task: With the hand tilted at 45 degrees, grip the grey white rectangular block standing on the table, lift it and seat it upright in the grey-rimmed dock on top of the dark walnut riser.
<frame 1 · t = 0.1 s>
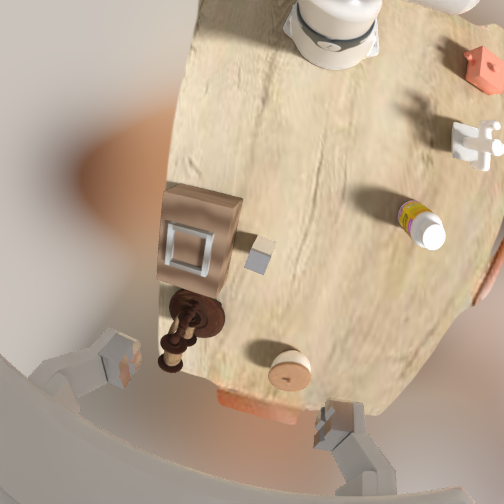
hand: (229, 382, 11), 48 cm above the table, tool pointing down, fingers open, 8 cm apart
grey white rectangular block: (263, 246, 60), on the table
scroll: (199, 309, 71), on the table
walnut riser: (203, 233, 62), on the table
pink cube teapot: (474, 72, 35), on the table
figurine: (459, 141, 42), on the table
supplement bottle: (411, 215, 51), on the table
lidded jar: (292, 357, 72), on the table
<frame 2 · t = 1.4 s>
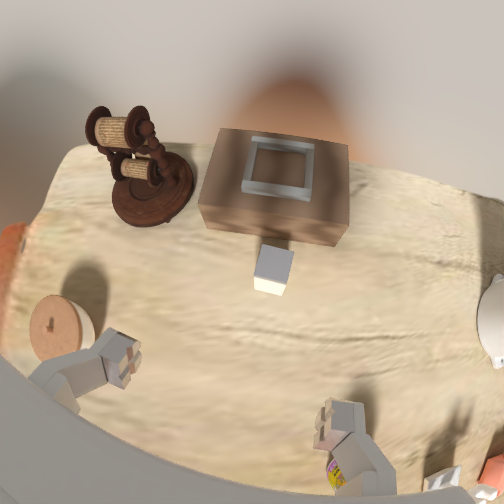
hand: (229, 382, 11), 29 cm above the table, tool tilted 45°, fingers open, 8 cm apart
grey white rectangular block: (271, 279, 41), on the table
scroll: (155, 193, 47), on the table
walnut riser: (276, 198, 46), on the table
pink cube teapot: (490, 465, 26), on the table
figurine: (432, 482, 28), on the table
supplement bottle: (345, 467, 31), on the table
lidded jar: (80, 336, 39), on the table
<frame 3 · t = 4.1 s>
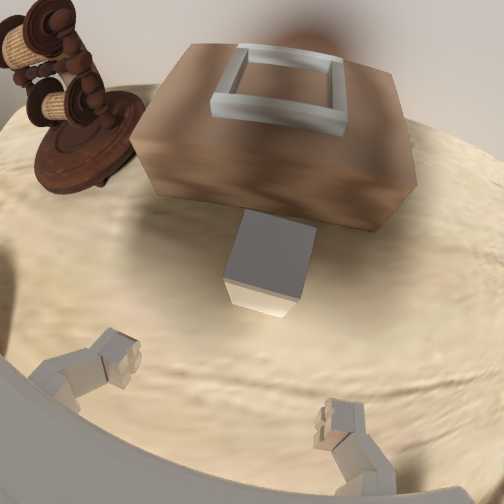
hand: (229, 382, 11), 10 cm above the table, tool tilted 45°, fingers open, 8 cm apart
grey white rectangular block: (264, 286, 22), on the table
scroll: (93, 148, 28), on the table
walnut riser: (276, 150, 27), on the table
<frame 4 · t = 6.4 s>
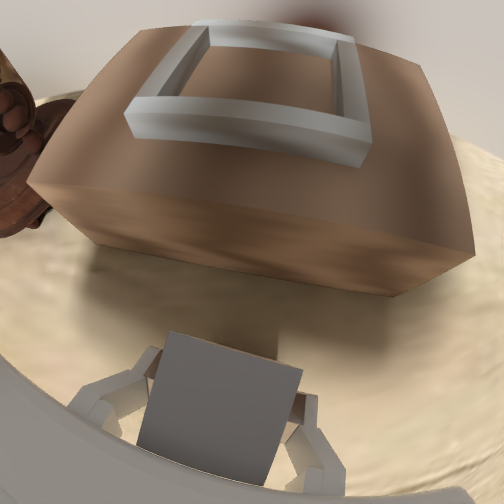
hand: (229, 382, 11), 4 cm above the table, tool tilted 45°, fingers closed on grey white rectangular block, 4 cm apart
grey white rectangular block: (232, 383, 14), on the table, touching gripper
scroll: (35, 173, 20), on the table
walnut riser: (257, 174, 19), on the table
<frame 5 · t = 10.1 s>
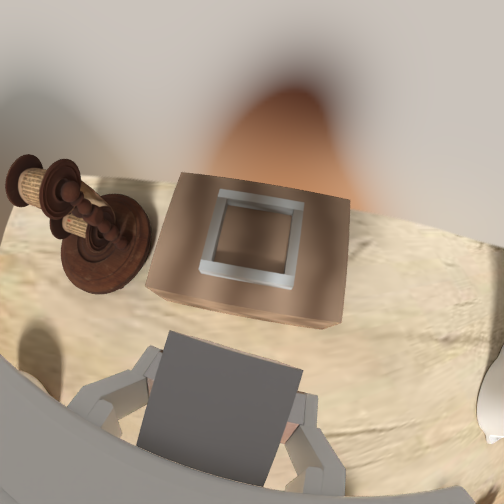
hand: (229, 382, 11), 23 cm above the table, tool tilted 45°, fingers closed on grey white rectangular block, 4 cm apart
grey white rectangular block: (232, 384, 14), point 19 cm above the table, touching gripper
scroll: (109, 247, 37), on the table
walnut riser: (253, 263, 37), on the table
when the fingers open (14 cm above the table, at t = 13.9 s): grey white rectangular block drops 1 cm, resting on walnut riser.
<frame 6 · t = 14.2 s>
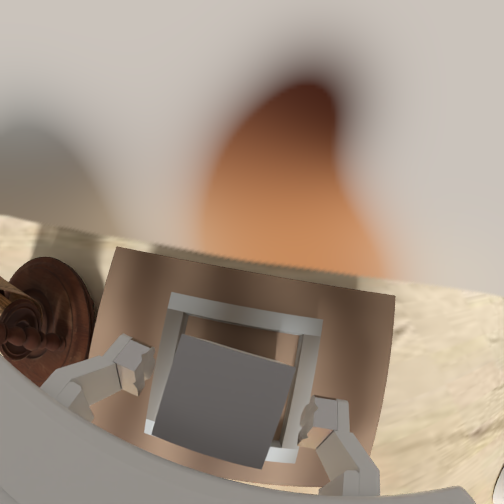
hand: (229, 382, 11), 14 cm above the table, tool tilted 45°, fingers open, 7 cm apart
grey white rectangular block: (233, 381, 16), point 8 cm above the table, touching walnut riser
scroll: (50, 328, 24), on the table
walnut riser: (238, 371, 23), on the table
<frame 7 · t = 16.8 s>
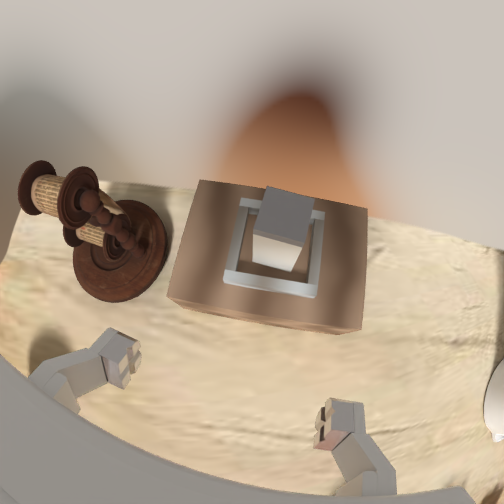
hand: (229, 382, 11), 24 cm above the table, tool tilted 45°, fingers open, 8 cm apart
grey white rectangular block: (276, 249, 29), point 8 cm above the table, touching walnut riser
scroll: (123, 254, 38), on the table
walnut riser: (270, 270, 37), on the table
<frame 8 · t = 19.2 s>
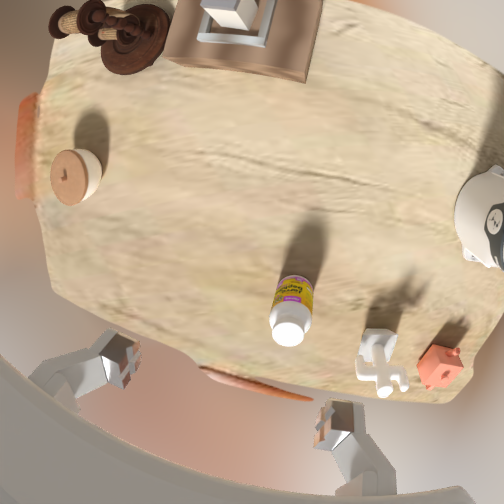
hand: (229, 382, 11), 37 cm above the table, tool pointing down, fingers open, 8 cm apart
grey white rectangular block: (239, 16, 27), point 8 cm above the table, touching walnut riser
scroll: (139, 40, 37), on the table
walnut riser: (251, 34, 34), on the table
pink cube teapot: (436, 352, 51), on the table
figurine: (374, 336, 52), on the table
supplement bottle: (294, 289, 51), on the table
lidded jar: (92, 170, 49), on the table
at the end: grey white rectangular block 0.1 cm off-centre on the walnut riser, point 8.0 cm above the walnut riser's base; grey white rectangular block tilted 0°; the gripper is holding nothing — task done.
